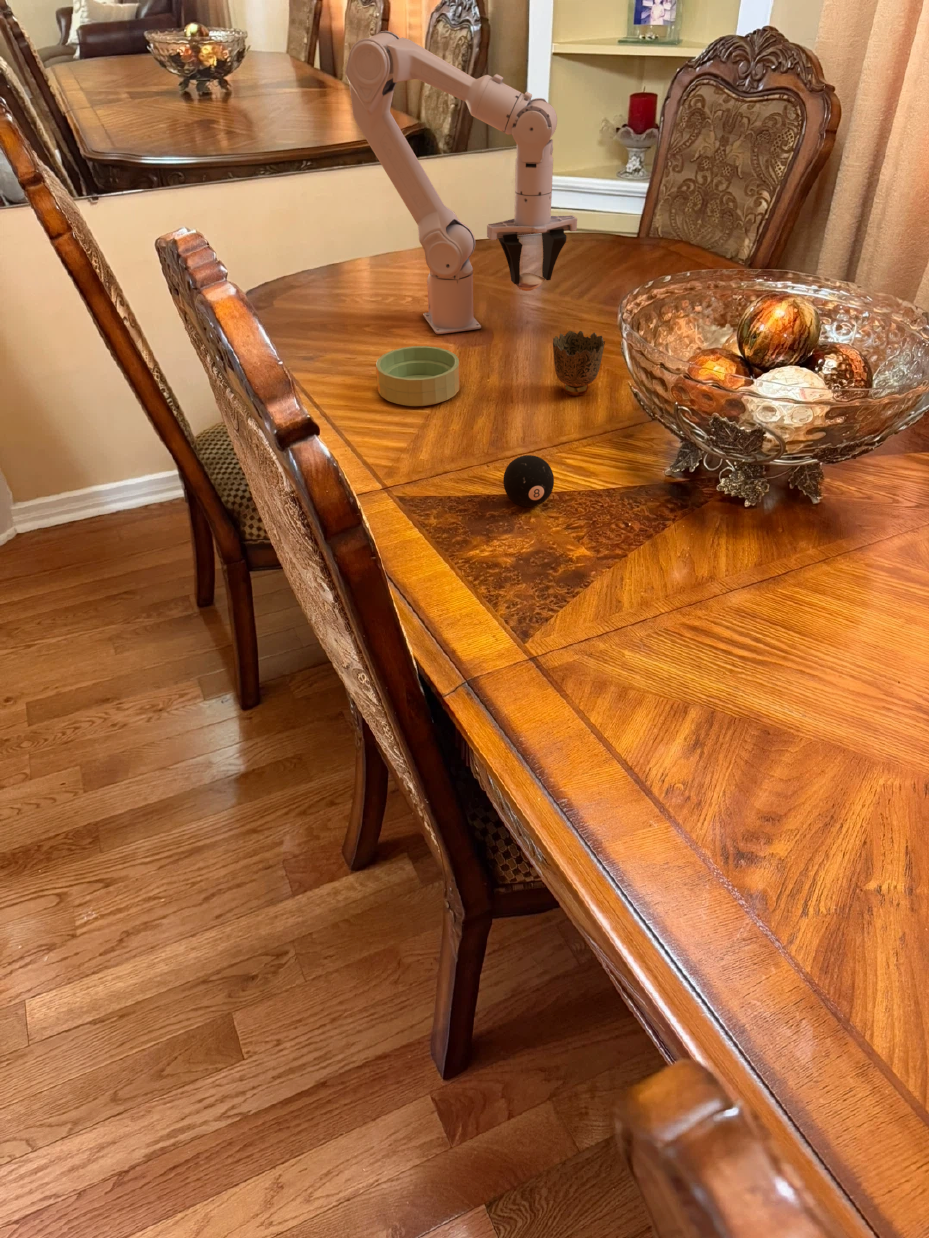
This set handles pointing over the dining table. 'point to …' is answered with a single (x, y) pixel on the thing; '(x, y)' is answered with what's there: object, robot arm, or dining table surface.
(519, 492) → the billiard ball
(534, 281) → the seashell
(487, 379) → the dining table surface
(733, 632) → the dining table surface
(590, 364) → the cup
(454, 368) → the bowl
